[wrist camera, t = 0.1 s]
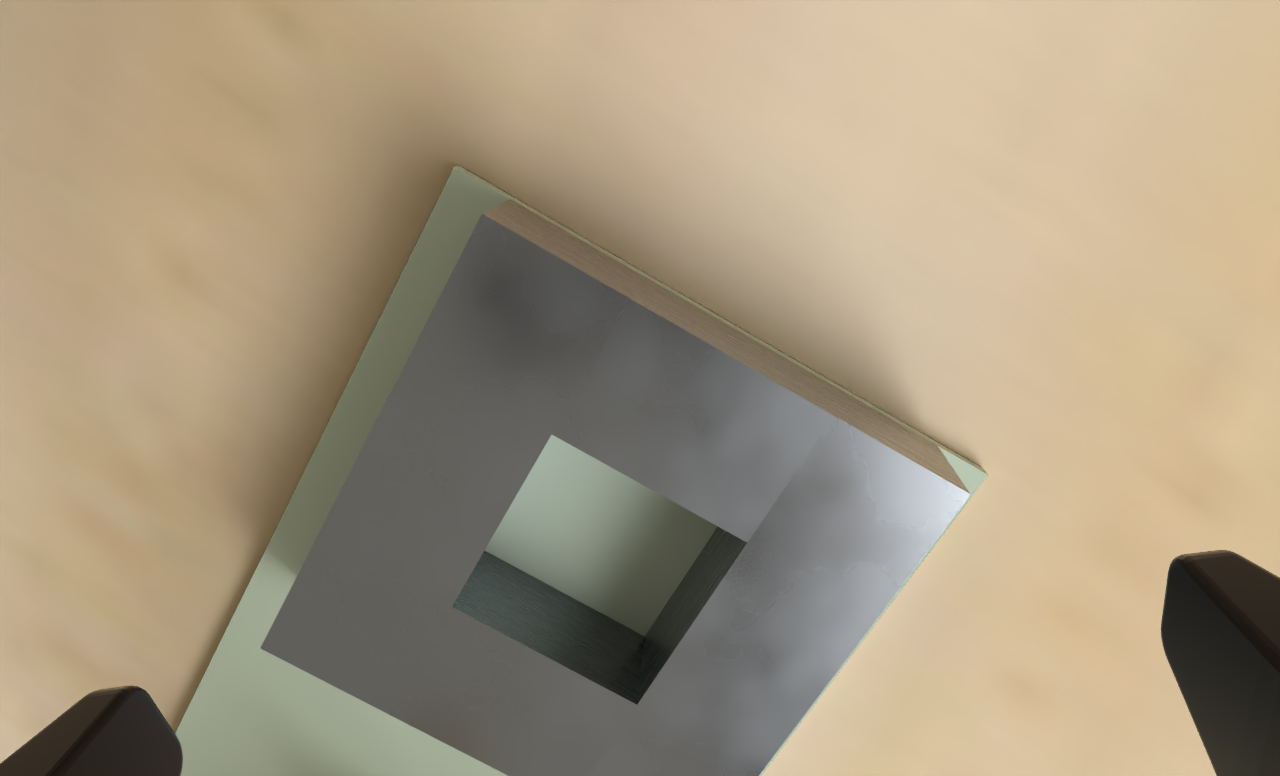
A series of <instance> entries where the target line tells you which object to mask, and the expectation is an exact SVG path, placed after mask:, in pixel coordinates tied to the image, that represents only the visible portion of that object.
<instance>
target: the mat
mask: <svg viewBox="0 0 1280 776" xmlns="http://www.w3.org/2000/svg"><path fill="white" fill-rule="evenodd" d="M510 199H511V200H513V201H515V202H517V203H518V204H520V205H522V206H524V207H525V208H527V209H529V210H530V211H532V212H534V213H536V214H537V215H539V216H541V217H543V218H544V219H546V220H548V221H549V222H551V223H553V224H555V225H556V226H558V227H560V228H562V229H563V230H565V231H567V232H569V233H570V234H572V235H574V236H575V237H577V238H579V239H581V240H582V241H584V242H586V243H588V244H589V245H591V246H593V247H594V248H596V249H598V250H600V251H601V252H603V253H605V254H607V255H608V256H610V257H612V258H614V259H615V260H617V261H619V262H620V263H622V264H624V265H626V266H627V267H629V268H631V269H633V270H634V271H636V272H638V273H639V274H641V275H643V276H645V277H646V278H648V279H650V280H652V281H653V282H655V283H657V284H659V285H660V286H662V287H664V288H665V289H667V290H669V291H671V292H672V293H674V294H676V295H678V296H679V297H681V298H683V299H684V300H686V301H688V302H690V303H691V304H693V305H695V306H697V307H698V308H700V309H702V310H704V311H705V312H707V313H709V314H710V315H712V316H714V317H716V318H717V319H719V320H721V321H723V322H724V323H726V324H728V325H729V326H731V327H733V328H735V329H736V330H738V331H740V332H742V333H743V334H745V335H747V336H749V337H750V338H752V339H754V340H755V341H757V342H759V343H761V344H762V345H764V346H766V347H768V348H769V349H771V350H773V351H774V352H776V353H778V354H780V355H781V356H783V357H785V358H787V359H788V360H790V361H792V362H794V363H795V364H797V365H799V366H800V367H802V368H804V369H806V370H807V371H809V372H811V373H813V374H814V375H816V376H818V377H819V378H821V379H823V380H825V381H826V382H828V383H830V384H832V385H833V386H835V387H837V388H839V389H840V390H842V391H844V392H845V393H847V394H849V395H851V396H852V397H854V398H856V399H858V400H859V401H861V402H863V403H864V404H866V405H868V406H870V407H871V408H873V409H875V410H877V411H878V412H880V413H882V414H883V415H885V416H887V417H889V418H890V419H892V420H894V421H896V422H897V423H899V424H901V425H903V426H904V427H906V428H908V429H909V430H911V431H913V432H915V433H916V434H918V435H920V436H922V437H923V438H925V439H927V440H928V441H930V442H932V443H934V444H935V445H937V446H938V447H939V448H940V450H941V451H942V453H943V454H944V456H945V457H946V459H947V460H948V462H949V463H950V465H951V466H952V468H953V469H954V470H955V472H956V473H957V475H958V476H959V478H960V479H961V481H962V482H963V484H964V485H965V487H966V488H967V489H968V491H969V492H970V494H971V495H970V496H969V497H968V499H967V500H966V501H965V503H964V504H963V505H962V507H961V508H960V509H959V511H958V512H957V513H956V515H955V516H954V517H953V519H952V520H951V521H950V523H949V524H948V525H947V527H946V528H945V529H944V531H943V532H942V533H941V535H940V536H939V537H938V539H937V540H936V541H935V543H934V544H933V545H932V547H931V548H930V549H929V551H928V552H927V553H926V554H925V556H924V557H923V558H922V560H921V561H920V562H919V564H918V565H917V566H916V568H915V569H914V570H913V572H912V573H911V574H910V576H909V577H908V578H907V580H906V581H905V582H904V584H903V585H902V586H901V588H900V589H899V590H898V592H897V593H896V594H895V596H894V597H893V598H892V600H891V601H890V602H889V604H888V605H887V606H886V608H885V609H884V610H883V612H882V613H881V614H880V616H879V617H878V618H877V620H876V621H875V622H874V624H873V625H872V626H871V627H870V629H869V630H868V631H867V633H866V634H865V635H864V637H863V638H862V639H861V641H860V642H859V643H858V645H857V646H856V647H855V649H854V650H853V651H852V653H851V654H850V655H849V657H848V658H847V659H846V661H845V662H844V663H843V665H842V666H841V667H840V669H839V670H838V671H837V673H836V674H835V675H834V677H833V678H832V679H831V681H830V682H829V683H828V685H827V686H826V687H825V689H824V690H823V691H822V693H821V694H820V695H819V697H818V698H817V699H816V700H815V702H814V703H813V704H812V706H811V707H810V708H809V710H808V711H807V712H806V714H805V715H804V716H803V718H802V719H801V720H800V722H799V723H798V724H797V726H796V727H795V728H794V730H793V731H792V732H791V734H790V735H789V736H788V738H787V739H786V740H785V742H784V743H783V744H782V746H781V747H780V748H779V750H778V751H777V752H776V754H775V755H774V756H773V758H772V759H771V760H770V762H769V763H768V764H767V766H766V767H765V768H764V770H763V771H762V772H761V773H760V775H759V776H761V775H762V774H763V773H764V771H765V770H766V769H767V767H768V766H769V765H770V764H771V762H772V761H773V760H774V758H775V757H776V756H777V754H778V753H779V752H780V750H781V749H782V748H783V746H784V745H785V744H786V742H787V741H788V740H789V738H790V737H791V736H792V734H793V733H794V732H795V730H796V729H797V728H798V726H799V725H800V724H801V722H802V721H803V720H804V718H805V717H806V716H807V714H808V713H809V712H810V710H811V709H812V708H813V707H814V705H815V704H816V703H817V701H818V700H819V699H820V697H821V696H822V695H823V693H824V692H825V691H826V689H827V688H828V687H829V685H830V684H831V683H832V681H833V680H834V679H835V677H836V676H837V675H838V673H839V672H840V671H841V669H842V668H843V667H844V665H845V664H846V663H847V661H848V660H849V659H850V657H851V656H852V655H853V654H854V652H855V651H856V650H857V648H858V647H859V646H860V644H861V643H862V642H863V640H864V639H865V638H866V636H867V635H868V634H869V632H870V631H871V630H872V628H873V627H874V626H875V624H876V623H877V622H878V620H879V619H880V618H881V616H882V615H883V614H884V612H885V611H886V610H887V608H888V607H889V606H890V604H891V603H892V602H893V600H894V599H895V598H896V597H897V595H898V594H899V593H900V591H901V590H902V589H903V587H904V586H905V585H906V583H907V582H908V581H909V579H910V578H911V577H912V575H913V574H914V573H915V571H916V570H917V569H918V567H919V566H920V565H921V563H922V562H923V561H924V559H925V558H926V557H927V555H928V554H929V553H930V551H931V550H932V549H933V547H934V546H935V545H936V543H937V542H938V541H939V540H940V538H941V537H942V536H943V534H944V533H945V532H946V530H947V529H948V528H949V526H950V525H951V524H952V522H953V521H954V520H955V518H956V517H957V516H958V514H959V513H960V512H961V510H962V509H963V508H964V506H965V505H966V504H967V502H968V501H969V500H970V498H971V497H972V496H973V494H974V493H975V492H976V490H977V489H978V488H979V487H980V485H981V484H982V483H983V481H984V480H985V479H986V477H987V476H988V474H987V473H986V471H985V470H984V469H983V468H981V467H979V466H978V465H976V464H974V463H972V462H971V461H969V460H967V459H965V458H964V457H962V456H960V455H959V454H957V453H955V452H953V451H952V450H950V449H948V448H946V447H945V446H943V445H941V444H940V443H938V442H936V441H934V440H933V439H931V438H929V437H927V436H926V435H924V434H922V433H921V432H919V431H917V430H915V429H914V428H912V427H910V426H908V425H907V424H905V423H903V422H901V421H900V420H898V419H896V418H895V417H893V416H891V415H889V414H888V413H886V412H884V411H882V410H881V409H879V408H877V407H876V406H874V405H872V404H870V403H869V402H867V401H865V400H863V399H862V398H860V397H858V396H857V395H855V394H853V393H851V392H850V391H848V390H846V389H844V388H843V387H841V386H839V385H837V384H836V383H834V382H832V381H831V380H829V379H827V378H825V377H824V376H822V375H820V374H818V373H817V372H815V371H813V370H812V369H810V368H808V367H806V366H805V365H803V364H801V363H799V362H798V361H796V360H794V359H793V358H791V357H789V356H787V355H786V354H784V353H782V352H780V351H779V350H777V349H775V348H774V347H772V346H770V345H768V344H767V343H765V342H763V341H761V340H760V339H758V338H756V337H754V336H753V335H751V334H749V333H748V332H746V331H744V330H742V329H741V328H739V327H737V326H735V325H734V324H732V323H730V322H729V321H727V320H725V319H723V318H722V317H720V316H718V315H716V314H715V313H713V312H711V311H710V310H708V309H706V308H704V307H703V306H701V305H699V304H697V303H696V302H694V301H692V300H690V299H689V298H687V297H685V296H684V295H682V294H680V293H678V292H677V291H675V290H673V289H671V288H670V287H668V286H666V285H665V284H663V283H661V282H659V281H658V280H656V279H654V278H652V277H651V276H649V275H647V274H646V273H644V272H642V271H640V270H639V269H637V268H635V267H633V266H632V265H630V264H628V263H626V262H625V261H623V260H621V259H620V258H618V257H616V256H614V255H613V254H611V253H609V252H607V251H606V250H604V249H602V248H601V247H599V246H597V245H595V244H594V243H592V242H590V241H588V240H587V239H585V238H583V237H582V236H580V235H578V234H576V233H575V232H573V231H571V230H569V229H568V228H566V227H564V226H563V225H561V224H559V223H557V222H556V221H554V220H552V219H550V218H549V217H547V216H545V215H543V214H542V213H540V212H538V211H537V210H535V209H533V208H531V207H530V206H528V205H526V204H524V203H523V202H521V201H519V200H518V199H516V198H514V197H512V196H511V195H509V194H507V193H505V192H504V191H502V190H500V189H499V188H497V187H495V186H493V185H492V184H490V183H488V182H486V181H485V180H483V179H481V178H479V177H478V176H476V175H474V174H473V173H471V172H469V171H467V170H466V169H464V168H462V167H460V166H459V165H458V166H454V168H453V170H452V172H451V174H450V176H449V178H448V180H447V182H446V184H445V186H444V188H443V190H442V192H441V194H440V196H439V199H438V201H437V203H436V205H435V207H434V209H433V211H432V213H431V215H430V217H429V219H428V221H427V223H426V225H425V227H424V229H423V231H422V233H421V235H420V237H419V239H418V241H417V243H416V245H415V247H414V249H413V251H412V253H411V255H410V257H409V259H408V261H407V264H406V266H405V268H404V270H403V272H402V274H401V276H400V278H399V280H398V282H397V284H396V286H395V288H394V290H393V292H392V294H391V296H390V298H389V300H388V302H387V304H386V306H385V308H384V310H383V312H382V314H381V316H380V318H379V320H378V322H377V324H376V326H375V329H374V331H373V333H372V335H371V337H370V339H369V341H368V343H367V345H366V347H365V349H364V351H363V353H362V355H361V357H360V359H359V361H358V363H357V365H356V367H355V369H354V371H353V373H352V375H351V377H350V379H349V381H348V383H347V385H346V387H345V389H344V391H343V394H342V396H341V398H340V400H339V402H338V404H337V406H336V408H335V410H334V412H333V414H332V416H331V418H330V420H329V422H328V424H327V426H326V428H325V430H324V432H323V434H322V436H321V438H320V440H319V442H318V444H317V446H316V448H315V450H314V452H313V454H312V456H311V459H310V461H309V463H308V465H307V467H306V469H305V471H304V473H303V475H302V477H301V479H300V481H299V483H298V485H297V487H296V489H295V491H294V493H293V495H292V497H291V499H290V501H289V503H288V505H287V507H286V509H285V511H284V513H283V515H282V517H281V519H280V521H279V524H278V526H277V528H276V530H275V532H274V534H273V536H272V538H271V540H270V542H269V544H268V546H267V548H266V550H265V552H264V554H263V556H262V558H261V560H260V562H259V564H258V566H257V568H256V570H255V572H254V574H253V576H252V578H251V580H250V582H249V584H248V586H247V588H246V591H245V593H244V595H243V597H242V599H241V601H240V603H239V605H238V607H237V609H236V611H235V613H234V615H233V617H232V619H231V621H230V623H229V625H228V627H227V629H226V631H225V633H224V635H223V637H222V639H221V641H220V643H219V645H218V647H217V649H216V651H215V653H214V656H213V658H212V660H211V662H210V664H209V666H208V668H207V670H206V672H205V674H204V676H203V678H202V680H201V682H200V684H199V686H198V688H197V690H196V692H195V694H194V696H193V698H192V700H191V702H190V704H189V706H188V708H187V710H186V712H185V714H184V716H183V718H182V721H181V723H180V725H179V727H178V729H177V731H176V733H175V735H176V736H177V738H178V739H179V741H180V744H181V747H182V753H183V766H182V772H181V776H508V775H506V774H504V773H502V772H500V771H498V770H496V769H494V768H492V767H490V766H488V765H486V764H484V763H482V762H480V761H478V760H476V759H475V758H473V757H471V756H469V755H467V754H465V753H463V752H461V751H459V750H457V749H455V748H453V747H451V746H449V745H447V744H445V743H443V742H441V741H439V740H438V739H436V738H434V737H432V736H430V735H428V734H426V733H424V732H422V731H420V730H418V729H416V728H414V727H412V726H410V725H408V724H406V723H404V722H402V721H401V720H399V719H397V718H395V717H393V716H391V715H389V714H387V713H385V712H383V711H381V710H379V709H377V708H375V707H373V706H371V705H369V704H367V703H365V702H364V701H362V700H360V699H358V698H356V697H354V696H352V695H350V694H348V693H346V692H344V691H342V690H340V689H338V688H336V687H334V686H332V685H330V684H328V683H327V682H325V681H323V680H321V679H319V678H317V677H315V676H313V675H311V674H309V673H307V672H305V671H303V670H301V669H299V668H297V667H295V666H293V665H292V664H290V663H288V662H286V661H284V660H282V659H280V658H278V657H276V656H274V655H272V654H270V653H268V652H266V651H264V650H262V649H260V648H261V646H262V644H263V642H264V640H265V638H266V636H267V634H268V632H269V630H270V628H271V626H272V624H273V622H274V620H275V618H276V616H277V614H278V612H279V610H280V608H281V607H282V605H283V603H284V601H285V599H286V597H287V595H288V593H289V591H290V589H291V587H292V585H293V583H294V581H295V579H296V577H297V575H298V573H299V571H300V569H301V567H302V565H303V563H304V561H305V559H306V558H307V556H308V554H309V552H310V550H311V548H312V546H313V544H314V542H315V540H316V538H317V536H318V534H319V532H320V530H321V528H322V526H323V524H324V522H325V520H326V518H327V516H328V514H329V512H330V510H331V508H332V507H333V505H334V503H335V501H336V499H337V497H338V495H339V493H340V491H341V489H342V487H343V485H344V483H345V481H346V479H347V477H348V475H349V473H350V471H351V469H352V467H353V465H354V463H355V461H356V459H357V458H358V456H359V454H360V452H361V450H362V448H363V446H364V444H365V442H366V440H367V438H368V436H369V434H370V432H371V430H372V428H373V426H374V424H375V422H376V420H377V418H378V416H379V414H380V412H381V410H382V408H383V407H384V405H385V403H386V401H387V399H388V397H389V395H390V393H391V391H392V389H393V387H394V385H395V383H396V381H397V379H398V377H399V375H400V373H401V371H402V369H403V367H404V365H405V363H406V361H407V359H408V358H409V356H410V354H411V352H412V350H413V348H414V346H415V344H416V342H417V340H418V338H419V336H420V334H421V332H422V330H423V328H424V326H425V324H426V322H427V320H428V318H429V316H430V314H431V312H432V310H433V308H434V307H435V305H436V303H437V301H438V299H439V297H440V295H441V293H442V291H443V289H444V287H445V285H446V283H447V281H448V279H449V277H450V275H451V273H452V271H453V269H454V267H455V265H456V263H457V261H458V259H459V258H460V256H461V254H462V252H463V250H464V248H465V246H466V244H467V242H468V240H469V238H470V236H471V234H472V232H473V230H474V228H475V226H476V224H477V222H478V220H479V218H480V216H481V214H482V213H484V212H486V211H488V210H490V209H492V208H494V207H496V206H498V205H500V204H502V203H504V202H506V201H508V200H510ZM717 527H718V526H716V525H714V524H712V523H711V522H709V521H707V520H705V519H703V518H702V517H700V516H698V515H696V514H694V513H693V512H691V511H689V510H687V509H685V508H684V507H682V506H680V505H678V504H676V503H675V502H673V501H671V500H669V499H667V498H666V497H664V496H662V495H660V494H658V493H657V492H655V491H653V490H651V489H649V488H648V487H646V486H644V485H642V484H640V483H639V482H637V481H635V480H633V479H631V478H629V477H628V476H626V475H624V474H622V473H620V472H619V471H617V470H615V469H613V468H611V467H610V466H608V465H606V464H604V463H602V462H601V461H599V460H597V459H595V458H593V457H592V456H590V455H588V454H586V453H584V452H583V451H581V450H579V449H577V448H575V447H574V446H572V445H570V444H568V443H566V442H565V441H563V440H561V439H559V438H557V437H556V436H554V435H551V436H550V438H549V440H548V442H547V443H546V445H545V447H544V449H543V450H542V452H541V454H540V455H539V457H538V459H537V461H536V462H535V464H534V466H533V468H532V469H531V471H530V473H529V474H528V476H527V478H526V480H525V481H524V483H523V485H522V487H521V488H520V490H519V492H518V493H517V495H516V497H515V499H514V500H513V502H512V504H511V506H510V507H509V509H508V511H507V512H506V514H505V516H504V518H503V519H502V521H501V523H500V525H499V526H498V528H497V530H496V531H495V533H494V535H493V537H492V538H491V540H490V542H489V544H488V545H487V547H486V549H485V551H487V552H488V553H490V554H492V555H494V556H496V557H498V558H500V559H501V560H503V561H505V562H507V563H509V564H511V565H513V566H514V567H516V568H518V569H520V570H522V571H524V572H526V573H528V574H529V575H531V576H533V577H535V578H537V579H539V580H541V581H542V582H544V583H546V584H548V585H550V586H552V587H554V588H555V589H557V590H559V591H561V592H563V593H565V594H567V595H568V596H570V597H572V598H574V599H576V600H578V601H580V602H581V603H583V604H585V605H587V606H589V607H591V608H593V609H595V610H596V611H598V612H600V613H602V614H604V615H606V616H608V617H609V618H611V619H613V620H615V621H617V622H619V623H621V624H622V625H624V626H626V627H628V628H630V629H632V630H634V631H635V632H637V633H639V634H641V635H643V636H645V635H646V634H647V632H648V631H649V629H650V628H651V626H652V624H653V623H654V621H655V620H656V618H657V617H658V615H659V614H660V612H661V611H662V609H663V608H664V606H665V605H666V603H667V602H668V600H669V599H670V597H671V596H672V594H673V593H674V591H675V590H676V588H677V587H678V585H679V584H680V582H681V581H682V579H683V578H684V576H685V575H686V573H687V572H688V570H689V569H690V567H691V566H692V564H693V563H694V561H695V560H696V558H697V557H698V555H699V554H700V552H701V551H702V549H703V548H704V546H705V545H706V543H707V542H708V540H709V539H710V537H711V536H712V534H713V533H714V531H715V530H716V528H717Z"/></svg>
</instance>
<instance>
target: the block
mask: <svg viewBox="0 0 1280 776" xmlns="http://www.w3.org/2000/svg"><path fill="white" fill-rule="evenodd" d="M551 435H554V436H556V437H557V438H559V439H561V440H563V441H565V442H566V443H568V444H570V445H572V446H574V447H575V448H577V449H579V450H581V451H583V452H584V453H586V454H588V455H590V456H592V457H593V458H595V459H597V460H599V461H601V462H602V463H604V464H606V465H608V466H610V467H611V468H613V469H615V470H617V471H619V472H620V473H622V474H624V475H626V476H628V477H629V478H631V479H633V480H635V481H637V482H639V483H640V484H642V485H644V486H646V487H648V488H649V489H651V490H653V491H655V492H657V493H658V494H660V495H662V496H664V497H666V498H667V499H669V500H671V501H673V502H675V503H676V504H678V505H680V506H682V507H684V508H685V509H687V510H689V511H691V512H693V513H694V514H696V515H698V516H700V517H702V518H703V519H705V520H707V521H709V522H711V523H712V524H714V525H716V526H718V527H717V528H716V530H715V531H714V533H713V534H712V536H711V537H710V539H709V540H708V542H707V543H706V545H705V546H704V548H703V549H702V551H701V552H700V554H699V555H698V557H697V558H696V560H695V561H694V563H693V564H692V566H691V567H690V569H689V570H688V572H687V573H686V575H685V576H684V578H683V579H682V581H681V582H680V584H679V585H678V587H677V588H676V590H675V591H674V593H673V594H672V596H671V597H670V599H669V600H668V602H667V603H666V605H665V606H664V608H663V609H662V611H661V612H660V614H659V615H658V617H657V618H656V620H655V621H654V623H653V624H652V626H651V628H650V629H649V631H648V632H647V634H646V635H645V636H643V635H641V634H639V633H637V632H635V631H634V630H632V629H630V628H628V627H626V626H624V625H622V624H621V623H619V622H617V621H615V620H613V619H611V618H609V617H608V616H606V615H604V614H602V613H600V612H598V611H596V610H595V609H593V608H591V607H589V606H587V605H585V604H583V603H581V602H580V601H578V600H576V599H574V598H572V597H570V596H568V595H567V594H565V593H563V592H561V591H559V590H557V589H555V588H554V587H552V586H550V585H548V584H546V583H544V582H542V581H541V580H539V579H537V578H535V577H533V576H531V575H529V574H528V573H526V572H524V571H522V570H520V569H518V568H516V567H514V566H513V565H511V564H509V563H507V562H505V561H503V560H501V559H500V558H498V557H496V556H494V555H492V554H490V553H488V552H487V551H485V549H486V547H487V545H488V544H489V542H490V540H491V538H492V537H493V535H494V533H495V531H496V530H497V528H498V526H499V525H500V523H501V521H502V519H503V518H504V516H505V514H506V512H507V511H508V509H509V507H510V506H511V504H512V502H513V500H514V499H515V497H516V495H517V493H518V492H519V490H520V488H521V487H522V485H523V483H524V481H525V480H526V478H527V476H528V474H529V473H530V471H531V469H532V468H533V466H534V464H535V462H536V461H537V459H538V457H539V455H540V454H541V452H542V450H543V449H544V447H545V445H546V443H547V442H548V440H549V438H550V436H551ZM970 495H971V494H970V492H969V491H968V489H967V488H966V487H965V485H964V484H963V482H962V481H961V479H960V478H959V476H958V475H957V473H956V472H955V470H954V469H953V468H952V466H951V465H950V463H949V462H948V460H947V459H946V457H945V456H944V454H943V453H942V451H941V450H940V448H939V447H938V446H937V445H935V444H934V443H932V442H930V441H928V440H927V439H925V438H923V437H922V436H920V435H918V434H916V433H915V432H913V431H911V430H909V429H908V428H906V427H904V426H903V425H901V424H899V423H897V422H896V421H894V420H892V419H890V418H889V417H887V416H885V415H883V414H882V413H880V412H878V411H877V410H875V409H873V408H871V407H870V406H868V405H866V404H864V403H863V402H861V401H859V400H858V399H856V398H854V397H852V396H851V395H849V394H847V393H845V392H844V391H842V390H840V389H839V388H837V387H835V386H833V385H832V384H830V383H828V382H826V381H825V380H823V379H821V378H819V377H818V376H816V375H814V374H813V373H811V372H809V371H807V370H806V369H804V368H802V367H800V366H799V365H797V364H795V363H794V362H792V361H790V360H788V359H787V358H785V357H783V356H781V355H780V354H778V353H776V352H774V351H773V350H771V349H769V348H768V347H766V346H764V345H762V344H761V343H759V342H757V341H755V340H754V339H752V338H750V337H749V336H747V335H745V334H743V333H742V332H740V331H738V330H736V329H735V328H733V327H731V326H729V325H728V324H726V323H724V322H723V321H721V320H719V319H717V318H716V317H714V316H712V315H710V314H709V313H707V312H705V311H704V310H702V309H700V308H698V307H697V306H695V305H693V304H691V303H690V302H688V301H686V300H684V299H683V298H681V297H679V296H678V295H676V294H674V293H672V292H671V291H669V290H667V289H665V288H664V287H662V286H660V285H659V284H657V283H655V282H653V281H652V280H650V279H648V278H646V277H645V276H643V275H641V274H639V273H638V272H636V271H634V270H633V269H631V268H629V267H627V266H626V265H624V264H622V263H620V262H619V261H617V260H615V259H614V258H612V257H610V256H608V255H607V254H605V253H603V252H601V251H600V250H598V249H596V248H594V247H593V246H591V245H589V244H588V243H586V242H584V241H582V240H581V239H579V238H577V237H575V236H574V235H572V234H570V233H569V232H567V231H565V230H563V229H562V228H560V227H558V226H556V225H555V224H553V223H551V222H549V221H548V220H546V219H544V218H543V217H541V216H539V215H537V214H536V213H534V212H532V211H530V210H529V209H527V208H525V207H524V206H522V205H520V204H518V203H517V202H515V201H513V200H511V199H510V200H508V201H506V202H504V203H502V204H500V205H498V206H496V207H494V208H492V209H490V210H488V211H486V212H484V213H482V214H481V216H480V218H479V220H478V222H477V224H476V226H475V228H474V230H473V232H472V234H471V236H470V238H469V240H468V242H467V244H466V246H465V248H464V250H463V252H462V254H461V256H460V258H459V259H458V261H457V263H456V265H455V267H454V269H453V271H452V273H451V275H450V277H449V279H448V281H447V283H446V285H445V287H444V289H443V291H442V293H441V295H440V297H439V299H438V301H437V303H436V305H435V307H434V308H433V310H432V312H431V314H430V316H429V318H428V320H427V322H426V324H425V326H424V328H423V330H422V332H421V334H420V336H419V338H418V340H417V342H416V344H415V346H414V348H413V350H412V352H411V354H410V356H409V358H408V359H407V361H406V363H405V365H404V367H403V369H402V371H401V373H400V375H399V377H398V379H397V381H396V383H395V385H394V387H393V389H392V391H391V393H390V395H389V397H388V399H387V401H386V403H385V405H384V407H383V408H382V410H381V412H380V414H379V416H378V418H377V420H376V422H375V424H374V426H373V428H372V430H371V432H370V434H369V436H368V438H367V440H366V442H365V444H364V446H363V448H362V450H361V452H360V454H359V456H358V458H357V459H356V461H355V463H354V465H353V467H352V469H351V471H350V473H349V475H348V477H347V479H346V481H345V483H344V485H343V487H342V489H341V491H340V493H339V495H338V497H337V499H336V501H335V503H334V505H333V507H332V508H331V510H330V512H329V514H328V516H327V518H326V520H325V522H324V524H323V526H322V528H321V530H320V532H319V534H318V536H317V538H316V540H315V542H314V544H313V546H312V548H311V550H310V552H309V554H308V556H307V558H306V559H305V561H304V563H303V565H302V567H301V569H300V571H299V573H298V575H297V577H296V579H295V581H294V583H293V585H292V587H291V589H290V591H289V593H288V595H287V597H286V599H285V601H284V603H283V605H282V607H281V608H280V610H279V612H278V614H277V616H276V618H275V620H274V622H273V624H272V626H271V628H270V630H269V632H268V634H267V636H266V638H265V640H264V642H263V644H262V646H261V648H260V649H262V650H264V651H266V652H268V653H270V654H272V655H274V656H276V657H278V658H280V659H282V660H284V661H286V662H288V663H290V664H292V665H293V666H295V667H297V668H299V669H301V670H303V671H305V672H307V673H309V674H311V675H313V676H315V677H317V678H319V679H321V680H323V681H325V682H327V683H328V684H330V685H332V686H334V687H336V688H338V689H340V690H342V691H344V692H346V693H348V694H350V695H352V696H354V697H356V698H358V699H360V700H362V701H364V702H365V703H367V704H369V705H371V706H373V707H375V708H377V709H379V710H381V711H383V712H385V713H387V714H389V715H391V716H393V717H395V718H397V719H399V720H401V721H402V722H404V723H406V724H408V725H410V726H412V727H414V728H416V729H418V730H420V731H422V732H424V733H426V734H428V735H430V736H432V737H434V738H436V739H438V740H439V741H441V742H443V743H445V744H447V745H449V746H451V747H453V748H455V749H457V750H459V751H461V752H463V753H465V754H467V755H469V756H471V757H473V758H475V759H476V760H478V761H480V762H482V763H484V764H486V765H488V766H490V767H492V768H494V769H496V770H498V771H500V772H502V773H504V774H506V775H508V776H759V775H760V773H761V772H762V771H763V770H764V768H765V767H766V766H767V764H768V763H769V762H770V760H771V759H772V758H773V756H774V755H775V754H776V752H777V751H778V750H779V748H780V747H781V746H782V744H783V743H784V742H785V740H786V739H787V738H788V736H789V735H790V734H791V732H792V731H793V730H794V728H795V727H796V726H797V724H798V723H799V722H800V720H801V719H802V718H803V716H804V715H805V714H806V712H807V711H808V710H809V708H810V707H811V706H812V704H813V703H814V702H815V700H816V699H817V698H818V697H819V695H820V694H821V693H822V691H823V690H824V689H825V687H826V686H827V685H828V683H829V682H830V681H831V679H832V678H833V677H834V675H835V674H836V673H837V671H838V670H839V669H840V667H841V666H842V665H843V663H844V662H845V661H846V659H847V658H848V657H849V655H850V654H851V653H852V651H853V650H854V649H855V647H856V646H857V645H858V643H859V642H860V641H861V639H862V638H863V637H864V635H865V634H866V633H867V631H868V630H869V629H870V627H871V626H872V625H873V624H874V622H875V621H876V620H877V618H878V617H879V616H880V614H881V613H882V612H883V610H884V609H885V608H886V606H887V605H888V604H889V602H890V601H891V600H892V598H893V597H894V596H895V594H896V593H897V592H898V590H899V589H900V588H901V586H902V585H903V584H904V582H905V581H906V580H907V578H908V577H909V576H910V574H911V573H912V572H913V570H914V569H915V568H916V566H917V565H918V564H919V562H920V561H921V560H922V558H923V557H924V556H925V554H926V553H927V552H928V551H929V549H930V548H931V547H932V545H933V544H934V543H935V541H936V540H937V539H938V537H939V536H940V535H941V533H942V532H943V531H944V529H945V528H946V527H947V525H948V524H949V523H950V521H951V520H952V519H953V517H954V516H955V515H956V513H957V512H958V511H959V509H960V508H961V507H962V505H963V504H964V503H965V501H966V500H967V499H968V497H969V496H970Z"/></svg>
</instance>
